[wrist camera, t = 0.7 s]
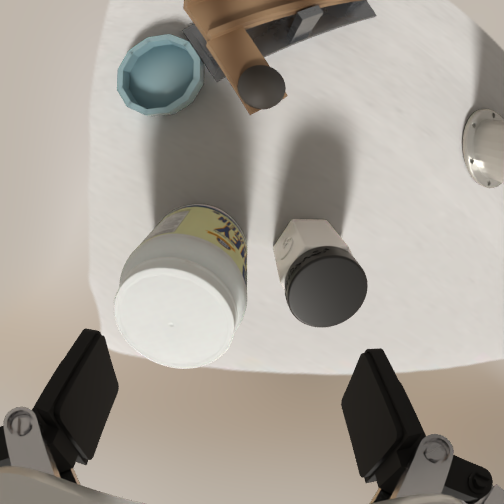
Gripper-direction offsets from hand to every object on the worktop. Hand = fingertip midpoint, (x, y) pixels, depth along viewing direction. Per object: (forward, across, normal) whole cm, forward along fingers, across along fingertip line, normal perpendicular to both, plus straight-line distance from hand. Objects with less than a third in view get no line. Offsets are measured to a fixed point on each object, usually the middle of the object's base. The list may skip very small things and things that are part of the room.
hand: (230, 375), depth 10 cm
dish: (+28, +11, -15) cm, 34 cm away
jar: (+29, -9, +6) cm, 30 cm away
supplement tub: (+28, +5, +7) cm, 30 cm away
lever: (+22, -5, -20) cm, 30 cm away
